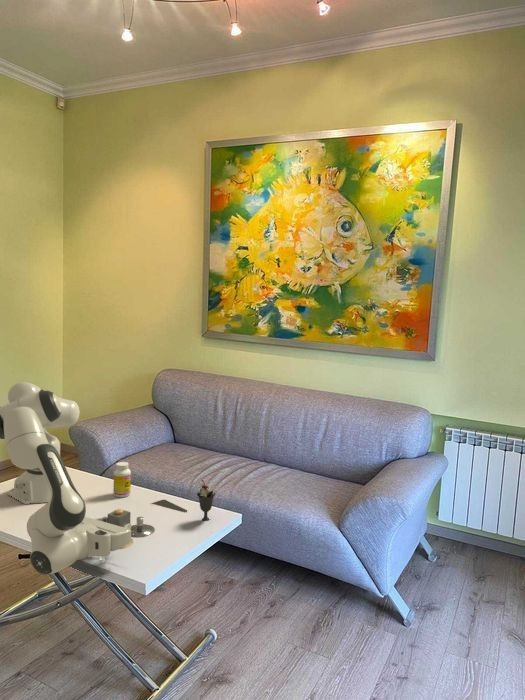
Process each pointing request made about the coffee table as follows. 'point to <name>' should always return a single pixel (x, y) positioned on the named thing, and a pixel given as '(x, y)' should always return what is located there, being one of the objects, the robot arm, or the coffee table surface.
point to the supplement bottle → (122, 480)
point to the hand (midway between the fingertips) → (117, 522)
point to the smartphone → (169, 505)
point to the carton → (119, 517)
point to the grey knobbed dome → (141, 529)
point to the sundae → (205, 500)
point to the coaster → (128, 544)
